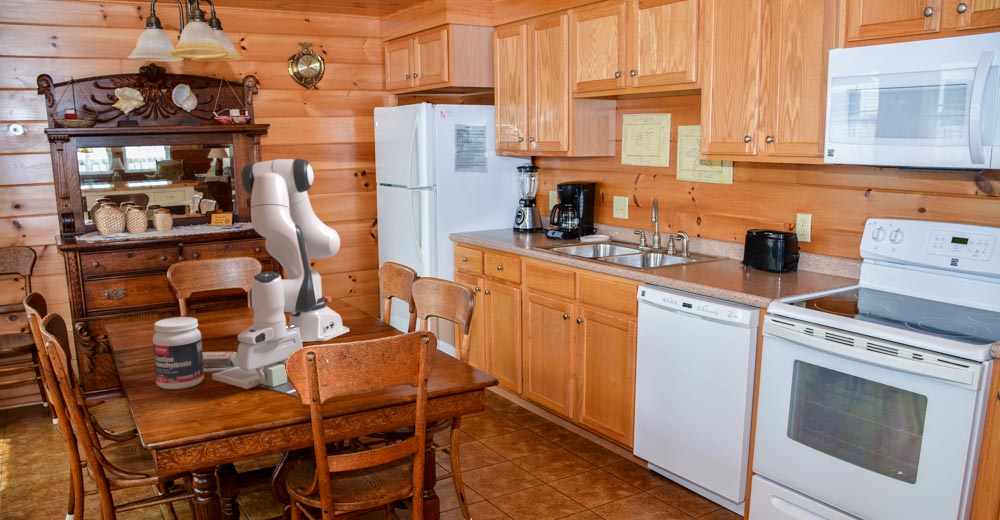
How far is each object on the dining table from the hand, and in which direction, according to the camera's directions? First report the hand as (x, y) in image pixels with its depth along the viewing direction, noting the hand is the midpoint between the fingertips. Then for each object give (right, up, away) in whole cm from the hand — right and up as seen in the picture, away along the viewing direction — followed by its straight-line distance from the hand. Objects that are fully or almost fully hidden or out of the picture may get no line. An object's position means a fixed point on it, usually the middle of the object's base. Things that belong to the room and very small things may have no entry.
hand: (272, 377), depth 217 cm
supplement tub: (-27, -2, +2) cm, 27 cm away
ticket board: (-2, -2, +2) cm, 3 cm away
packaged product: (-26, 0, +18) cm, 31 cm away
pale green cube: (0, -2, 0) cm, 2 cm away
